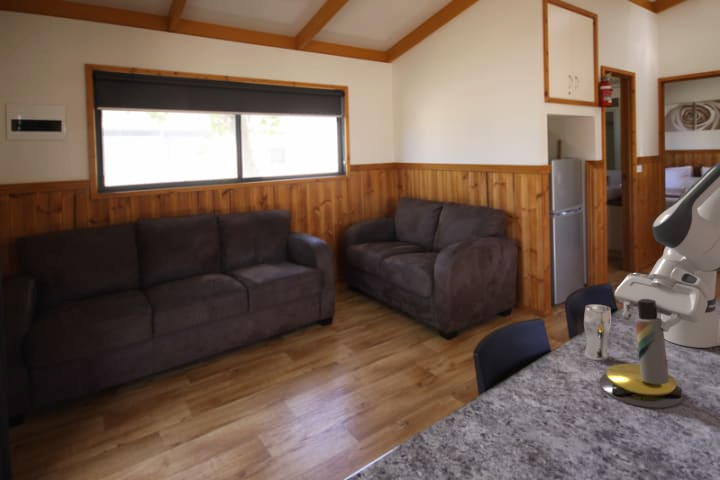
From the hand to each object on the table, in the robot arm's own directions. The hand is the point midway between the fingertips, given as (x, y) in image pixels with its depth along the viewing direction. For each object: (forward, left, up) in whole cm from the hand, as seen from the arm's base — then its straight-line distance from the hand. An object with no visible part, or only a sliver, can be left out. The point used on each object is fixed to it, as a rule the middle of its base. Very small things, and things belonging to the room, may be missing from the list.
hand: (643, 324), depth 115 cm
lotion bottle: (+3, +3, -13) cm, 14 cm away
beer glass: (-14, -13, -17) cm, 26 cm away
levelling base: (+1, 0, -17) cm, 17 cm away
